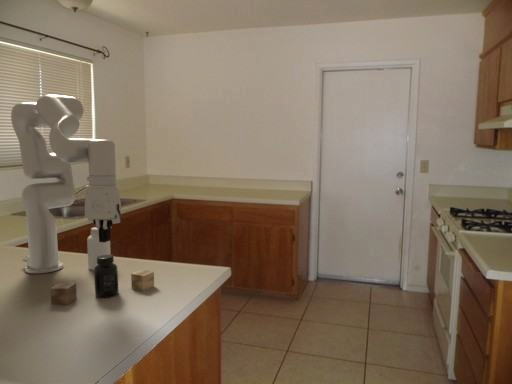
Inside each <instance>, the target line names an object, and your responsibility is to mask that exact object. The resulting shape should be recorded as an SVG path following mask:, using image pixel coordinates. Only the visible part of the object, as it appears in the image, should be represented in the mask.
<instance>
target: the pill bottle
mask: <svg viewBox="0 0 512 384" xmlns="http://www.w3.org/2000/svg"><path fill="white" fill-rule="evenodd" d="M86 243H87V244H86V245H87V268H88V269H89V270H91V271H94V268H95V266H97V265H98V264H97V257H98V256H101V255H112V253H111V240H110V241H107V242H99V229H97V228H96V226H95V227H91V228H90V235H89V236H88V237H87V242H86Z"/></svg>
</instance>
